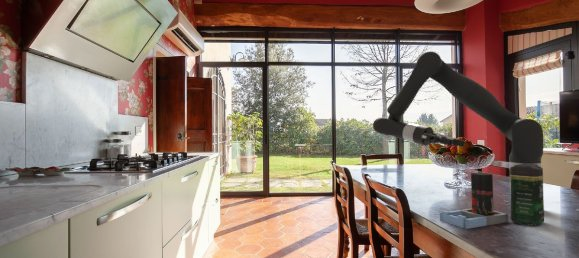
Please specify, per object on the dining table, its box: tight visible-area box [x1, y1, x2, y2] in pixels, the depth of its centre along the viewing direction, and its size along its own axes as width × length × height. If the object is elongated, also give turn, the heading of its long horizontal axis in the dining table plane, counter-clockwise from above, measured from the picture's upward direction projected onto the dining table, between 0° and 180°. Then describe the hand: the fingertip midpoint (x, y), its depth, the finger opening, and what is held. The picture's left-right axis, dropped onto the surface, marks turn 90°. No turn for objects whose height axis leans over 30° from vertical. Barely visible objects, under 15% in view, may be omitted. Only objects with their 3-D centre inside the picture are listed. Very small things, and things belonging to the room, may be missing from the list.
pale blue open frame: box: [439, 208, 509, 230], centre depth 96 cm, size 18×10×3 cm, turn 110°
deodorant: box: [470, 172, 495, 216], centre depth 97 cm, size 6×6×15 cm
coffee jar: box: [509, 163, 545, 227], centre depth 94 cm, size 10×8×19 cm
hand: (458, 143), depth 105 cm, fingers open, 8 cm apart
